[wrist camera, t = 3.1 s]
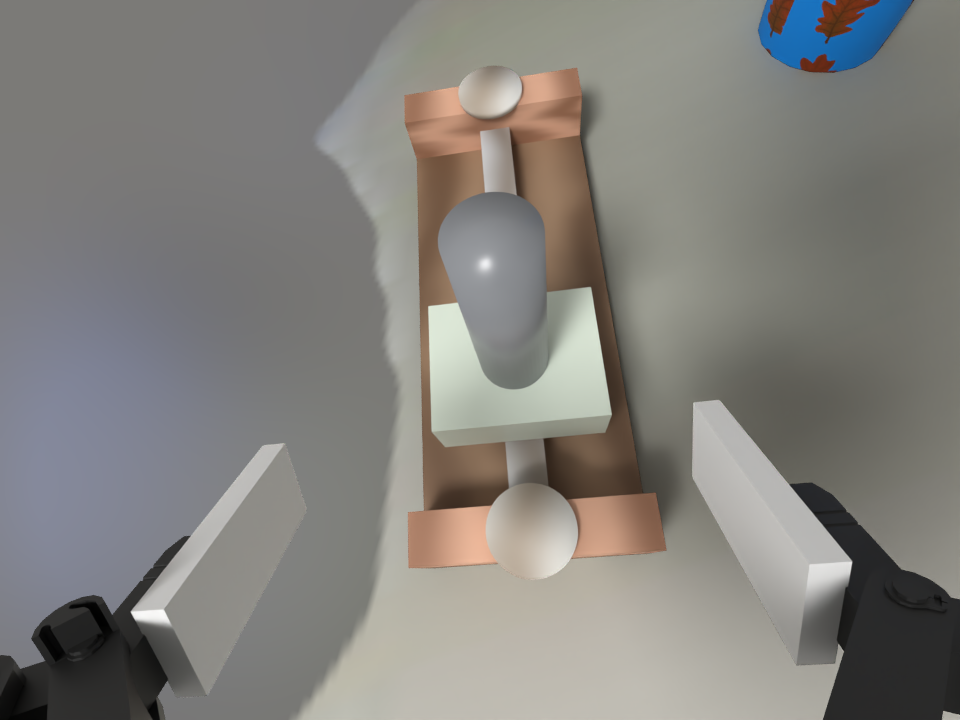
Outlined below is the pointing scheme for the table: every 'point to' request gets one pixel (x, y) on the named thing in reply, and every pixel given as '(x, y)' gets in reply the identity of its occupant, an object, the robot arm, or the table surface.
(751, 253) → the table surface
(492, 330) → the carriage
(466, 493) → the rail board
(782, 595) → the robot arm
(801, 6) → the thermos
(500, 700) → the table surface
